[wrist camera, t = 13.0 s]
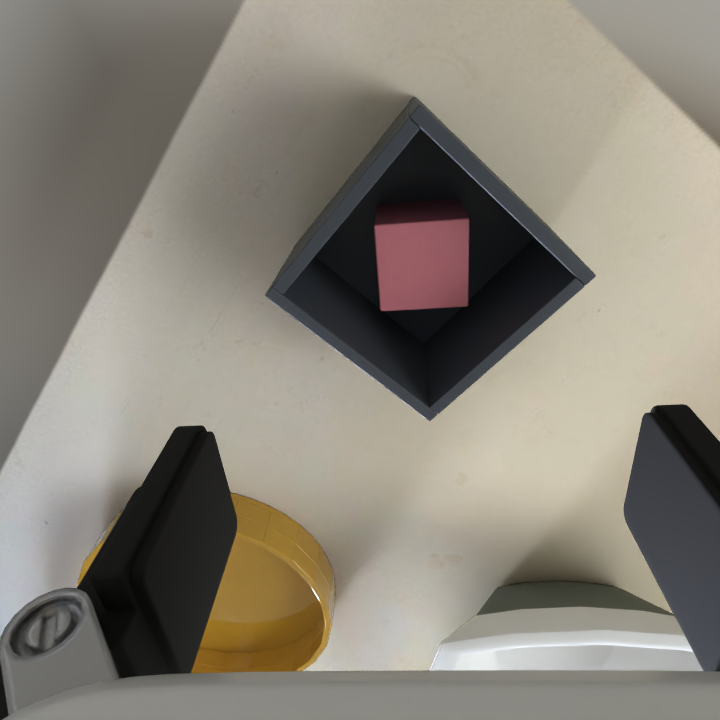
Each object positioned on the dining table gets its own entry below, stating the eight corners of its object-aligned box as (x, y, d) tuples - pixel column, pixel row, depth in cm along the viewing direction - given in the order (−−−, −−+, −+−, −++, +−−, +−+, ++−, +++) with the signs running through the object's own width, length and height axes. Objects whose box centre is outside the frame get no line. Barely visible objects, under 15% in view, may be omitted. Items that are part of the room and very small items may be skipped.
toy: (382, 281, 30) (380, 312, 27) (376, 204, 28) (373, 225, 24) (459, 276, 30) (468, 307, 26) (459, 197, 28) (469, 218, 24)
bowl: (423, 697, 51) (427, 803, 44) (418, 527, 40) (423, 629, 33) (660, 704, 49) (706, 816, 42) (723, 526, 38) (801, 635, 31)
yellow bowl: (139, 649, 50) (122, 686, 47) (66, 491, 41) (39, 525, 38) (346, 651, 48) (342, 690, 45) (319, 485, 39) (312, 520, 36)
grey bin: (423, 351, 33) (429, 421, 26) (294, 247, 30) (264, 296, 24) (551, 229, 29) (596, 276, 22) (414, 95, 26) (419, 103, 20)
